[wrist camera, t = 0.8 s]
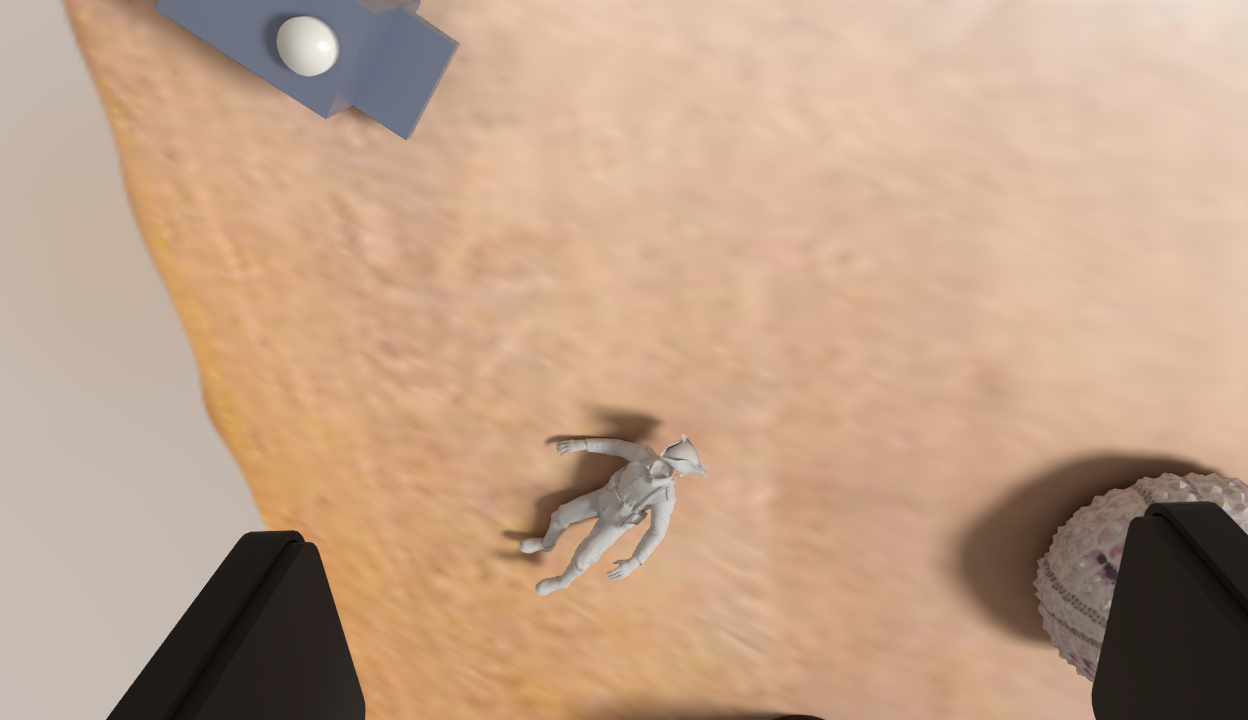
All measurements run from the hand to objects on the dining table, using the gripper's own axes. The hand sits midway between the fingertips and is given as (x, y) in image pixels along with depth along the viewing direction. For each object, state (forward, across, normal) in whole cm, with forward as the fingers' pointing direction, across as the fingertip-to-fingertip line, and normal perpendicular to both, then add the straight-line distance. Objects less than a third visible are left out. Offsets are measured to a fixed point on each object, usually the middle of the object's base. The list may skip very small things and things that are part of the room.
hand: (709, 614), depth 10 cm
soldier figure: (+30, +5, +19) cm, 36 cm away
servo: (+30, +15, -6) cm, 34 cm away
